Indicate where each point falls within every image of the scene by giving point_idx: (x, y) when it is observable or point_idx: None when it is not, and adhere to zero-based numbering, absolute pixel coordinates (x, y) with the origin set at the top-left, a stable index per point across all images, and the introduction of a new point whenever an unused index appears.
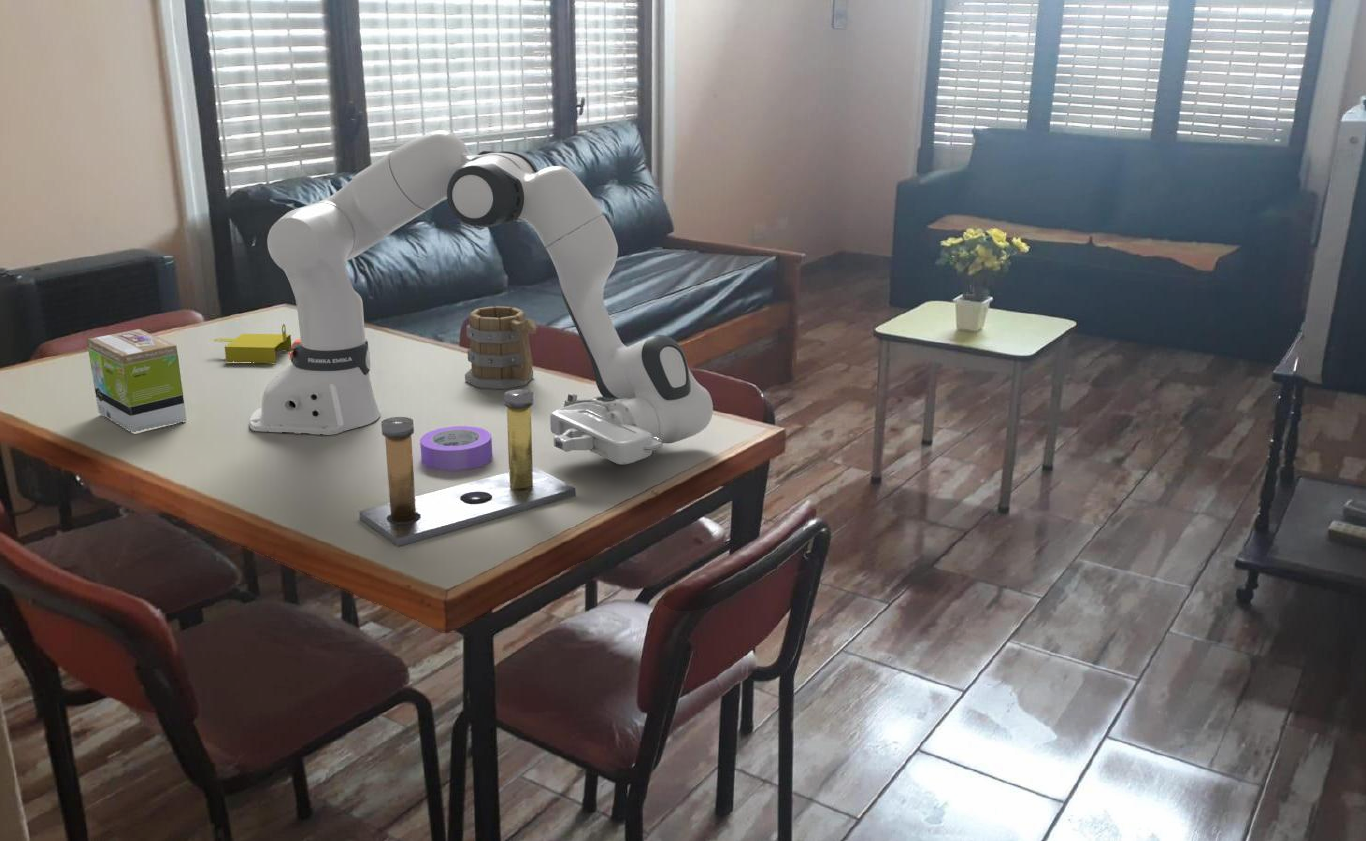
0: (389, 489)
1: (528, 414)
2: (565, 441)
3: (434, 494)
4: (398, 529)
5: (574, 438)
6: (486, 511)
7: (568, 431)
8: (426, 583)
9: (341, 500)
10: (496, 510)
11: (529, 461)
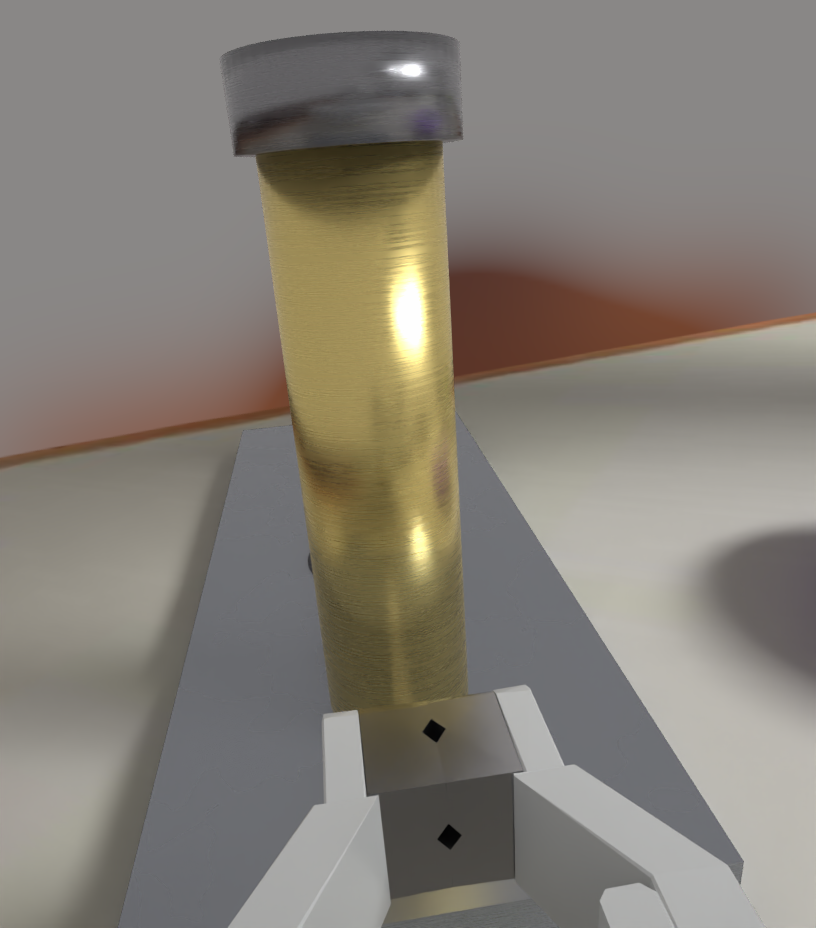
0: None
1: (270, 230)
2: (325, 718)
3: (482, 491)
4: (291, 434)
5: (336, 819)
6: (227, 553)
7: (636, 844)
8: (32, 460)
9: (595, 417)
10: (207, 573)
11: (315, 572)
